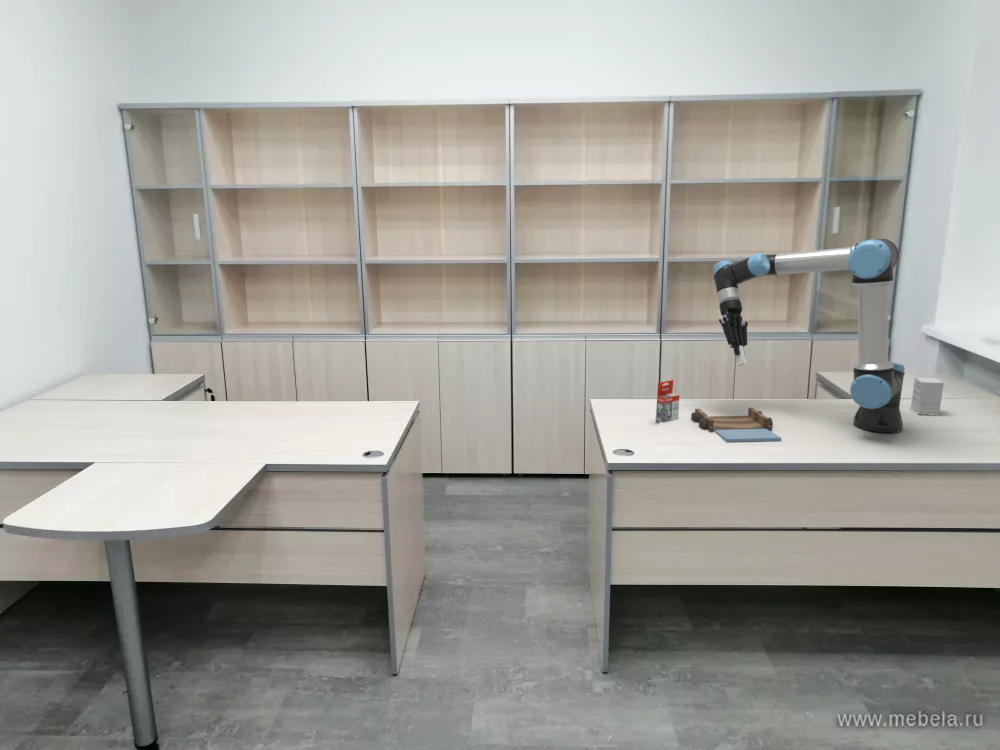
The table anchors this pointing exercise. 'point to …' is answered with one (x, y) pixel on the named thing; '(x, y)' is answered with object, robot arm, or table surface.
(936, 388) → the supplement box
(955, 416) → the table surface
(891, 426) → the robot arm
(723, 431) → the panel
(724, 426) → the trailer bed
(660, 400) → the ink box
